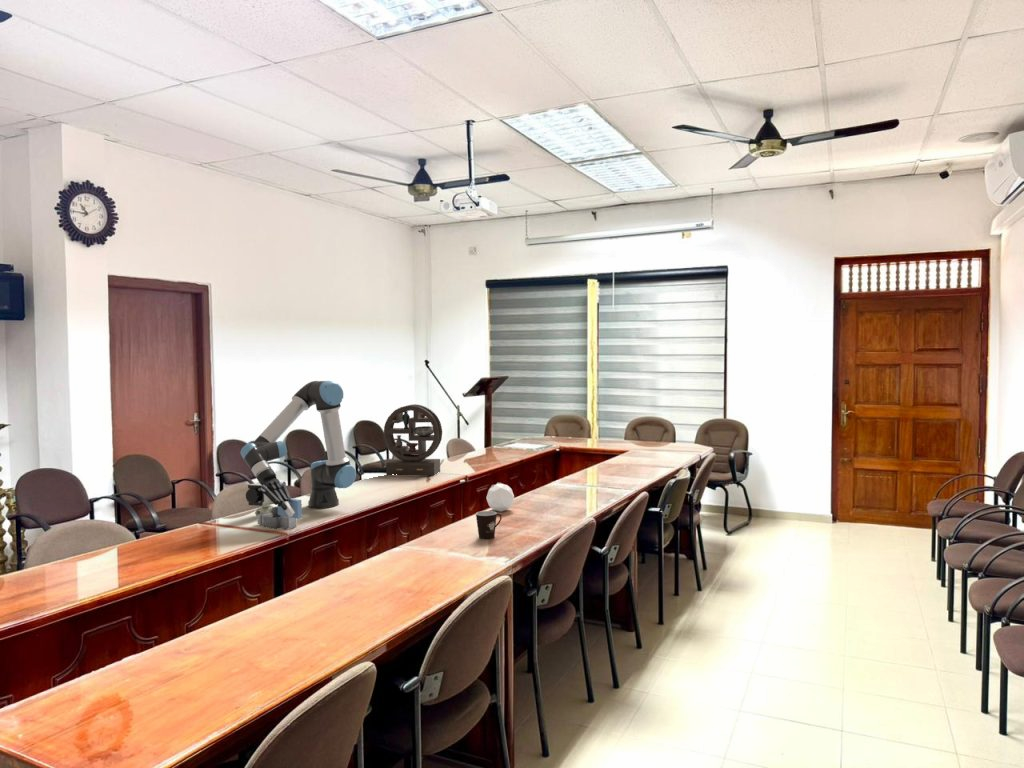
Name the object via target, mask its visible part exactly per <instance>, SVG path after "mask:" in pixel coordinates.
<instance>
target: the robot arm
mask: <svg viewBox="0 0 1024 768" xmlns="http://www.w3.org/2000/svg"><path fill="white" fill-rule="evenodd" d="M343 399H344V390H343V388H342V386H341V385H340V383H338V382H336V381H331V380H314V381H309V382H308V383H306V384H305V385H303V386H302V387H301V388H300V389H299V390H297V392H296V393H295V394H294V395H293V396H292V397H291V401H290V402H288V404H287V405H286V406H285V407H284V408H283V409H282V411H281V412H280V413H279V414H278V415H276V417H275V418H274V419H273V420H272V421H271V423H270V424H268V426H267V427H265V429H264V430H263V431H262V432H261V433H260V434H259V435H258V437H257V438H256V439H254V440H249V441H248V442H247V443H246V444H245V445H243V447H242V448H241V450H240V453H239V454H240V455H241V457H242V459H243V461H244V462H245V464H246V465H247V466H248V468H249V469H250V470H251V472H252V474H253V475H254V476H255V478H256V480H257V481H258V482H259V483H260V484H261V485H262V487H261V489H260V491H261V492H263V493H264V494H265V495H266V496H267V497H268V498H269V499H270V500H271V501H272V502H271V503H273V504H274V505H276V506H277V504H279V505H278V506H279V507H280V506H281V507H282V509H283V510H285V512H286V513H287V514H288V516H289V517H292V516H293V514H294V513H295V512H294V510H293V509H292V506H291V504H290V503H289V500H290V499H291V498H292V497H291V494H290V493H289V490H288V488H287V483H286V481H283V482H282V481H280V480H279V479H278V478H277V475H276V473H275V471H274V470H273V468H272V466H271V465H270V464H269V462H271V461H273V460H274V461H275V460H277V459H280V458H283V457H285V456H286V455H287V451H288V449H287V448H288V447H287V445H286V444H285V443H284V441H282V440H280V441H278V439H279V438H281V436H282V435H283V434H284V433H285V432H286V431H287V430H288V429H289V427H290V426H291V425H292V424H293V423H294V422H295V421H296V420H297V419H298V418H299V417H300V416H301V415H302V414H303V412H304V411H307V410H309V409H310V408H311V407H312V406H314V405H315V407H316V411H317V412H319V414H320V419H321V424H322V430H323V436H324V437H323V438H324V443H325V448H326V449H325V450H326V455H327V459H326V460H325V459H324V460H317V461H313V462H311V463H310V464H311V465H310V484H311V485H310V487H311V489H310V490H311V492H310V495H309V500H308V501H307V502H308V503H307V504H308V507H309V508H312V509H327V508H333V507H336V506H339V503H340V502H339V498H338V495H337V491H336V488H337V489H347V488H348V489H349V487H350V486H351V487H352V485H353V484H354V482H355V481H356V478H357V470H356V468H355V467H354V466H353V465H351V462H350V458H349V457H348V456H347V455H346V450H345V445H344V444H345V443H344V438H343V433H342V426H341V419H340V413H339V409H340V408H341V407H342V406H341V403H342V401H343ZM278 506H277V507H278Z"/></svg>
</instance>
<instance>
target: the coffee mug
mask: <svg viewBox="0 0 1024 768" xmlns="http://www.w3.org/2000/svg"><path fill="white" fill-rule="evenodd" d="M497 516H499V521H498V522H497ZM475 519H476V525H477V533H478V539H480V540H491V539H494V538H495V534H496V528H497V526H499V524H500V523H501V521H502V515H501V514H500V513H497V512H496V511H495V510H481V511H477V512H476V513H475Z"/></svg>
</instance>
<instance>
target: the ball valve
mask: <svg viewBox="0 0 1024 768" xmlns="http://www.w3.org/2000/svg"><path fill="white" fill-rule="evenodd" d="M261 487H262V485H261V484H260V483H259V481H258V482H255V483H252V484H251V483H250V484H248V485H247V491H246V492H245V499H246V501H247V503H248V506H259V507H258V508H257V509H256V510H255V512H254V514H255V516H256V517H257V515H258V514H261V513H265V512H270V513H271V514H272V507H274V505H272V503H273V502H272V501H271V500H270V499H269V498H268V497H267V496H266V495H265V494H264V493H263V492H261V491H260V489H261Z"/></svg>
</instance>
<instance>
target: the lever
mask: <svg viewBox="0 0 1024 768" xmlns="http://www.w3.org/2000/svg"><path fill="white" fill-rule="evenodd" d="M289 503H290V504H291V506H292V509H293V510H294V512H295V513H294V514H293V516H292V517H291V518H296V520H299V519H303V516H302V515H303V514H302V513H303V512H302V510H303V509H302V507H303V506H302V499H299V498H298V499H297V498H292V497H291V499H290V500H289ZM278 505H279V504H277V505H276V506H273V507H272V515H281V516H286V517H289V516H288V514H287V513H286V512H285V510H283V509H282V507H281V506H280V507H279V506H278Z"/></svg>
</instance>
